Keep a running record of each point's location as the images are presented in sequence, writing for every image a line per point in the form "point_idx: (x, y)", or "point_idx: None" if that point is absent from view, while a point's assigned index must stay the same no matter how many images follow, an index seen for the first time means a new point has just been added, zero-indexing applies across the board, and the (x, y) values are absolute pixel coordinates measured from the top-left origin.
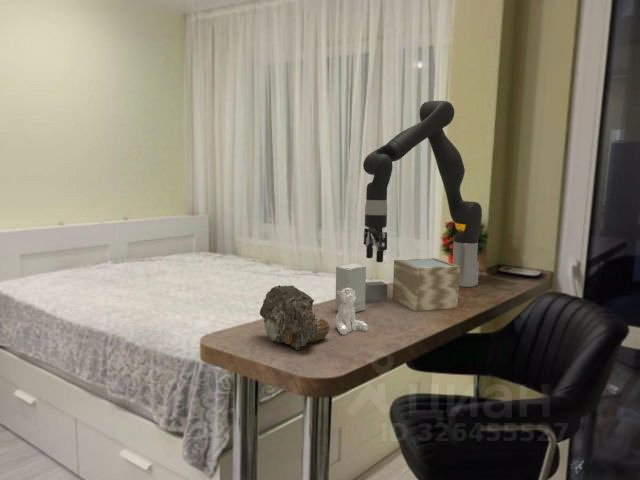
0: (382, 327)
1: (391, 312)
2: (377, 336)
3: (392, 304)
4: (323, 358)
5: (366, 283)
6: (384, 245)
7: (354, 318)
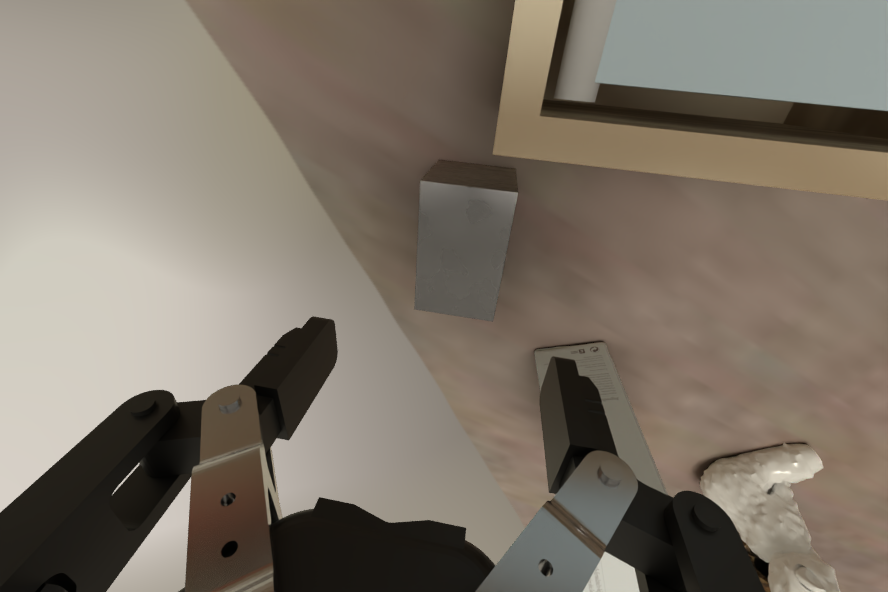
0: (827, 397)
1: (703, 266)
2: (879, 450)
3: (590, 180)
4: (864, 576)
5: (446, 294)
6: (689, 570)
7: (794, 502)
